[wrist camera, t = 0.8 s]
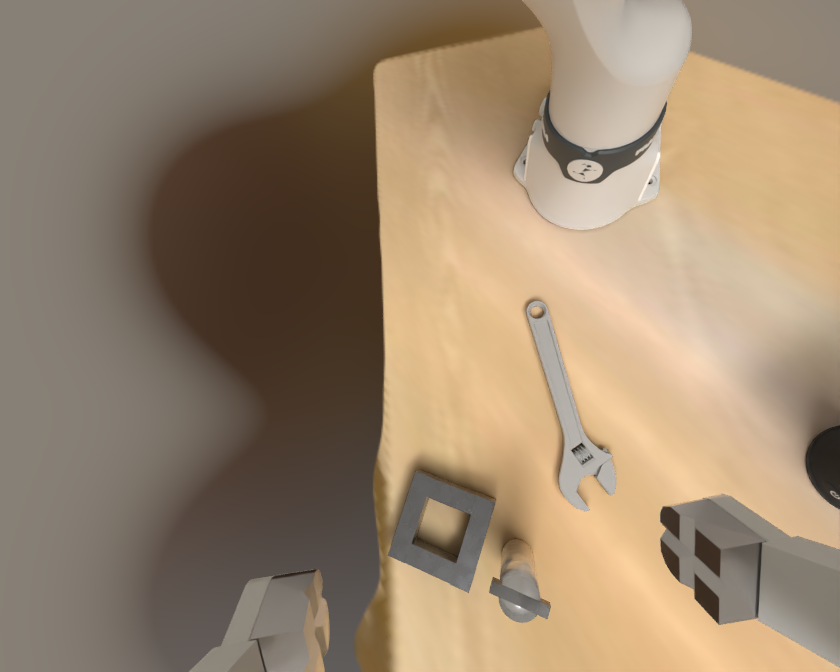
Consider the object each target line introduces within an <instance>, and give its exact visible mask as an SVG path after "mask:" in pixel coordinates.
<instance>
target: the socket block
mask: <svg viewBox="0 0 840 672" xmlns="http://www.w3.org/2000/svg"><path fill="white" fill-rule="evenodd" d="M429 498H431V499H433V500H436V501H438V502H441V503H443V504H446V505H448V506H450V507H453V508H455V509H458V510H460V511H463V512H465V513H468V514H470V515H471V516H470V520H469V523H468V526H467V529H466V533H465V536H464V539H463V543H462V546H461V549H460V553H459V556H458V557H457V556H455V555H453V554H450V553H448V552H446V551H444V550H441V549H439V548H437V547H435V546H432V545H430V544H428V543H426V542H423V541H421V540H419V539H416V537H417V534H418V531H419V528H420V525H421V522H422V519H423V516H424V512H425V509H426V506H427V503H428V500H429ZM495 502H496V499H494V498H491V497H489V496H486V495H484V494H481V493H479V492H478V493H477V492H475V491H472V490H470V489H467V488H465V487H462V486H460V485H457V484H455V483H452V482H449V481H447V480H444V479H442V478H439V477H437V476H435V475H433V474H430V473H428V472H425V471H423V470H417V471H415V474H414V477H413V480H412V484H411V487H410V490H409V493H408V496H407V499H406V502H405V505H404V508H403V511H402V514H401V517H400V520H399V523H398V526H397V529H396V532H395V535H394V538H393V541H392V545H391V548H390V551H389V554H388V556H390V557H393V558H395V559H397V560H399V561H401V562H403V563H407V564H409V565H411V566H413V567H415V568H417V569H420V570H422V571H424V572H426V573H428V574H430V575H432V576H435V577H437V578H439V579H441V580H443V581H445V582H448V583H450V584H451V585H453V586H455V587H457V588H459V589H462V590H464V591H466V592H468V593H469V590H470V587H471V583H472V580H473V577H474V573H475V570H476V567H477V563H478V560H479V556H480V553H481V550H482V546H483V543H484V539H485V536H486V533H487V529H488V526H489V522H490V519H491V516H492V512H493V509H494V506H495Z"/></svg>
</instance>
